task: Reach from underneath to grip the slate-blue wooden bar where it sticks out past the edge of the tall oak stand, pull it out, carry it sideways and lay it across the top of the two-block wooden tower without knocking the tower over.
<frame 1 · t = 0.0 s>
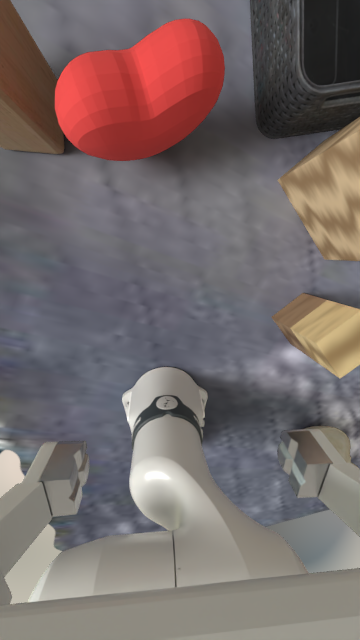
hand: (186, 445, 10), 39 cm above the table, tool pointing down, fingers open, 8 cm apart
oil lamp: (317, 443, 61), on the table
oak stand: (324, 203, 45), on the table
walnut block: (296, 319, 51), on the table, touching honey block
storage bin: (308, 31, 38), on the table
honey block: (319, 330, 44), point 7 cm above the table, touching walnut block
block: (32, 118, 38), on the table
heart: (146, 146, 40), on the table
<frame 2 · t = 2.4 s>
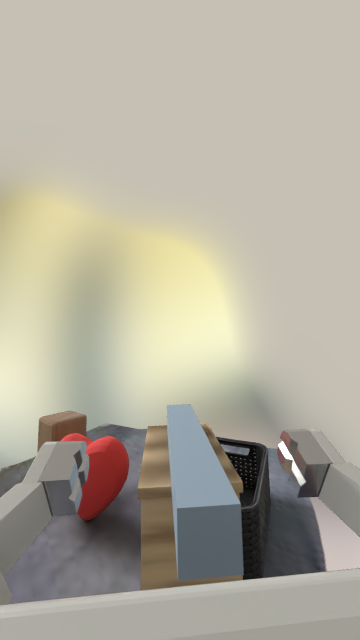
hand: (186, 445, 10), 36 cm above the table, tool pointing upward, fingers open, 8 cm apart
storage bin: (222, 524, 54), on the table
block: (60, 488, 69), on the table
heart: (88, 520, 56), on the table
blue bar: (187, 468, 27), point 26 cm above the table, touching oak stand
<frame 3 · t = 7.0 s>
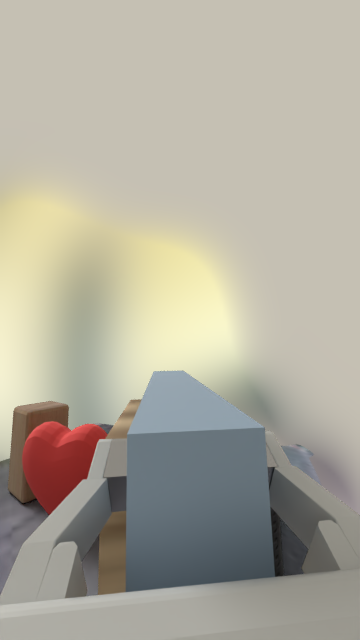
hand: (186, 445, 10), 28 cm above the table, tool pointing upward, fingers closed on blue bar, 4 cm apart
storage bin: (225, 529, 45), on the table
block: (36, 489, 59), on the table
heart: (64, 525, 47), on the table
blue bar: (174, 432, 19), point 26 cm above the table, touching gripper, oak stand
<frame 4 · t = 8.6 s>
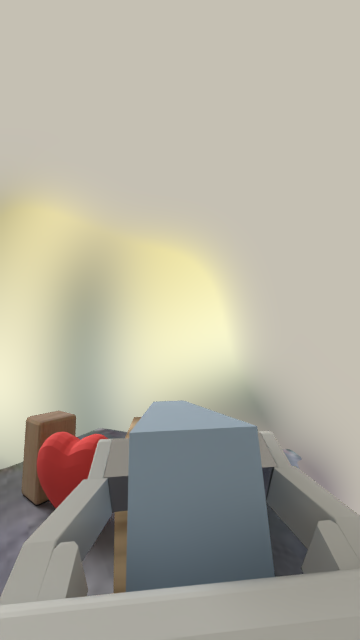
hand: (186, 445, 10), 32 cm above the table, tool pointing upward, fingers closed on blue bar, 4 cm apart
block: (47, 492, 65), on the table
heart: (74, 524, 53), on the table
blue bar: (174, 460, 19), point 28 cm above the table, tilted 8°, touching gripper
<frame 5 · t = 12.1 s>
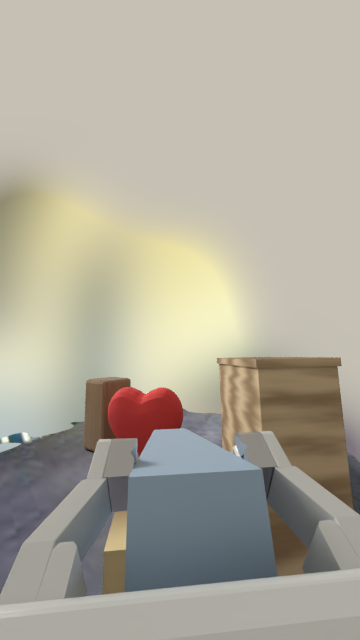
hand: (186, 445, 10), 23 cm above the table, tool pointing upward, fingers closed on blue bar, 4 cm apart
oak stand: (277, 544, 34), on the table
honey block: (168, 618, 18), point 7 cm above the table, touching walnut block
block: (106, 447, 71), on the table
heart: (144, 466, 59), on the table
blue bar: (176, 497, 18), point 16 cm above the table, tilted 13°, touching gripper
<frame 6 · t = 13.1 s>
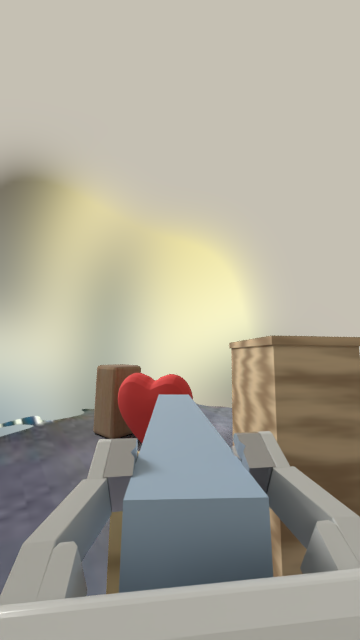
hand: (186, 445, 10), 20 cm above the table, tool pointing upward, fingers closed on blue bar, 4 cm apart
oak stand: (287, 531, 33), on the table
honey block: (174, 585, 17), point 7 cm above the table, touching walnut block
block: (115, 433, 72), on the table
heart: (152, 452, 59), on the table
blue bar: (177, 466, 18), point 15 cm above the table, touching gripper
when the fingers open (20 cm above the table, at t = 13.3 s): blue bar stays where it is, resting on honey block.
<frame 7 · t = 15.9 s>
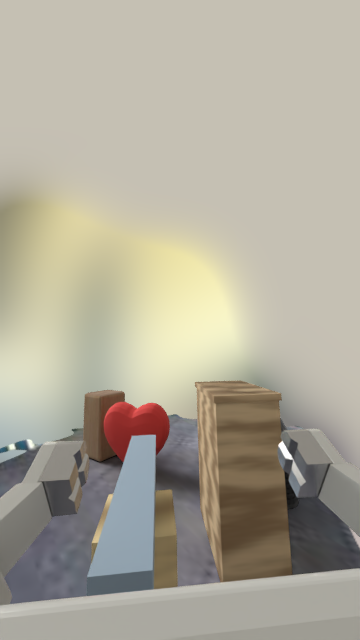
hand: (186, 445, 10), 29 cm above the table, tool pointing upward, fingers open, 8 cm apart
oak stand: (237, 539, 42), on the table
storage bin: (250, 474, 65), on the table
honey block: (138, 588, 26), point 7 cm above the table, touching blue bar, walnut block
block: (103, 454, 80), on the table
heart: (135, 472, 67), on the table
blue bar: (137, 510, 27), point 15 cm above the table, touching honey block
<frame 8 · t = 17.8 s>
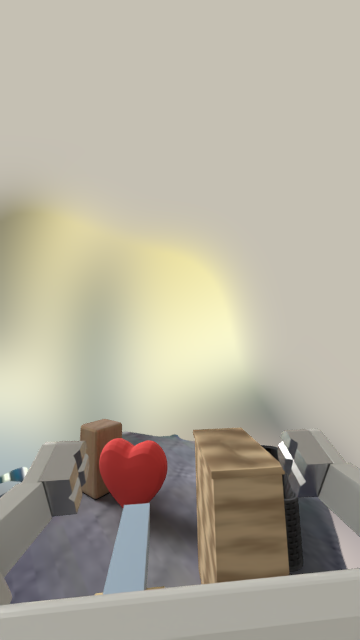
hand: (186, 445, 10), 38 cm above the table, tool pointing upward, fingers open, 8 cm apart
oak stand: (237, 613, 39), on the table
storage bin: (252, 520, 62), on the table
block: (100, 489, 77), on the table
heart: (132, 514, 64), on the table
blue bar: (124, 625, 24), point 15 cm above the table, touching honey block
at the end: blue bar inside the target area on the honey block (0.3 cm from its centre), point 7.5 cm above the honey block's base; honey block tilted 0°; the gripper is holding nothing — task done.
